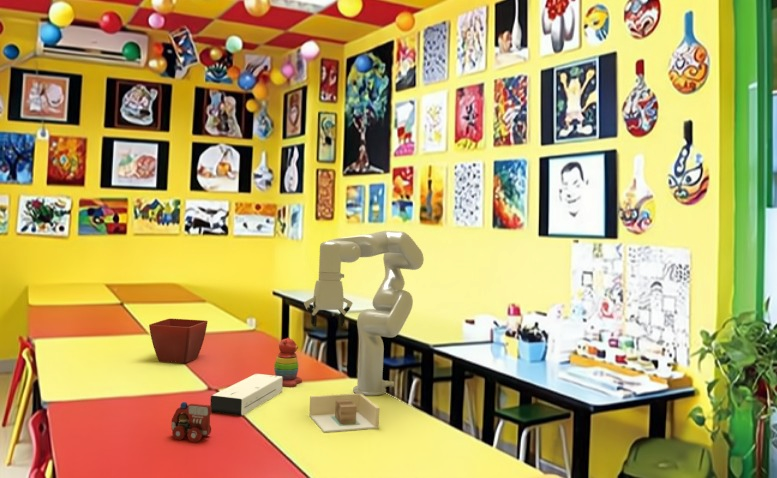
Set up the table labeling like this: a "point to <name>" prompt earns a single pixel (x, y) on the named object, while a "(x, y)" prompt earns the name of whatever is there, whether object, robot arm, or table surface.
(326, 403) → the arena
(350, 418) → the block
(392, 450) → the table surface
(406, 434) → the table surface
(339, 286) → the robot arm
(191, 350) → the plant pot
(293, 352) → the stacking bear
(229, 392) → the laminator
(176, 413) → the toy fire truck
